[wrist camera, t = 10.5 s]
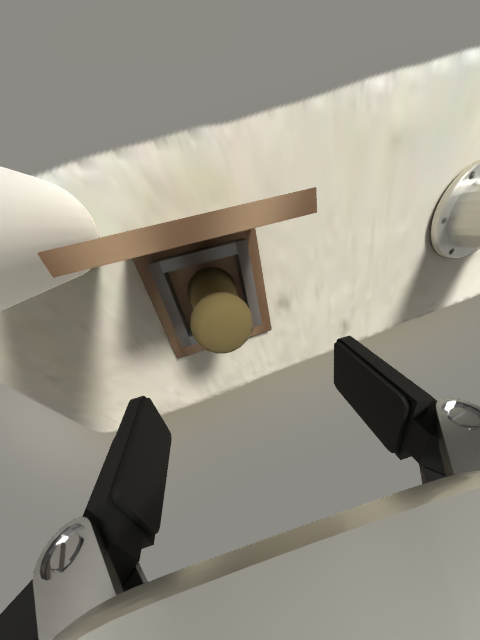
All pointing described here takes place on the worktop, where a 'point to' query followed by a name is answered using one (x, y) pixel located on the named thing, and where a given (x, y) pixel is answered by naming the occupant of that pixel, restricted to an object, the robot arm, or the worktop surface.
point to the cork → (218, 311)
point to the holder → (190, 258)
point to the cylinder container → (35, 234)
